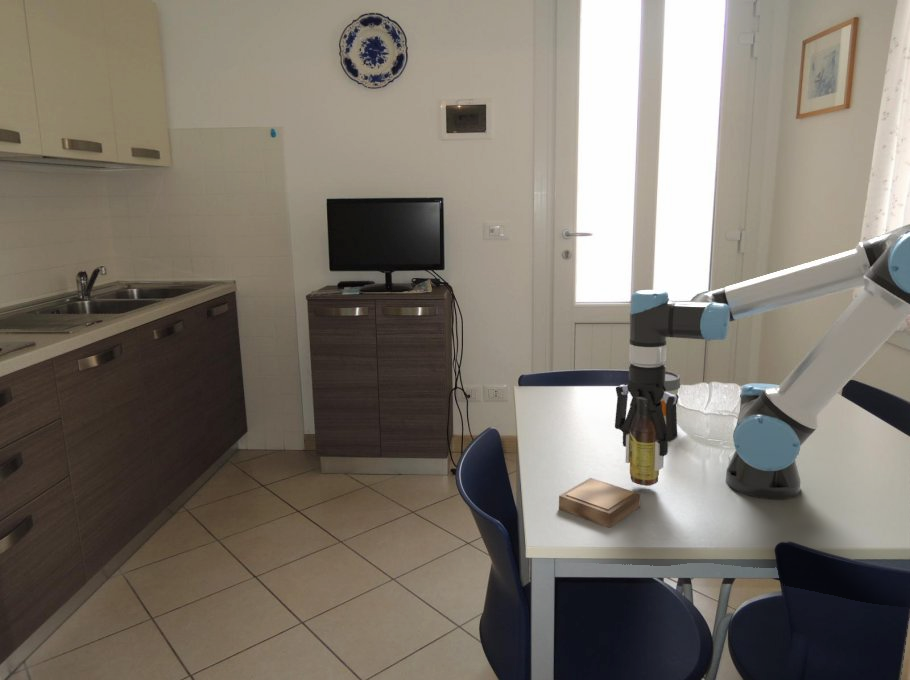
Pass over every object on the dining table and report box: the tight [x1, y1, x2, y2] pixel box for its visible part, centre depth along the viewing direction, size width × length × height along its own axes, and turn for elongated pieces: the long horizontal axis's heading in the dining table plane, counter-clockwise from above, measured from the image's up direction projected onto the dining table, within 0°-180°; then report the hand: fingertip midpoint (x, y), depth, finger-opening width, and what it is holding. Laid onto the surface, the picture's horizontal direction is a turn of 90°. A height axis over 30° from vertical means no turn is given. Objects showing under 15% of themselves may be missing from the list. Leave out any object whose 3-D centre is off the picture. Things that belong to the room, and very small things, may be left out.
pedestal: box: [558, 477, 641, 529], centre depth 140 cm, size 12×12×3 cm
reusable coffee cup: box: [661, 370, 681, 423], centre depth 186 cm, size 12×13×15 cm
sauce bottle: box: [629, 396, 660, 487], centre depth 146 cm, size 7×6×20 cm
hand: (644, 464), depth 147 cm, fingers closed on sauce bottle, 6 cm apart
